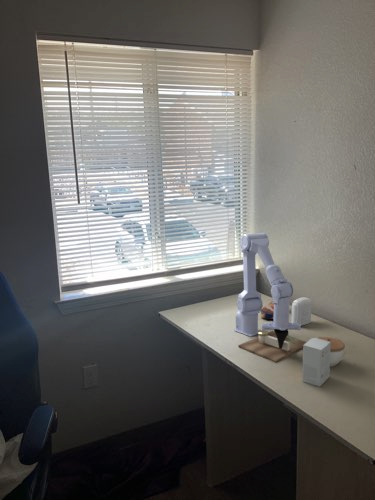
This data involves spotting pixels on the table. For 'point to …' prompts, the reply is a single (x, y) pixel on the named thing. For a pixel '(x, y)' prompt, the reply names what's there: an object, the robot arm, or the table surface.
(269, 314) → the pencil case
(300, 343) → the board
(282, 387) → the table surface
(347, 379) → the table surface
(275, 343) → the peg lever
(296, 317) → the photo printer
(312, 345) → the small box
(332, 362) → the lidded jar
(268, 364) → the table surface
